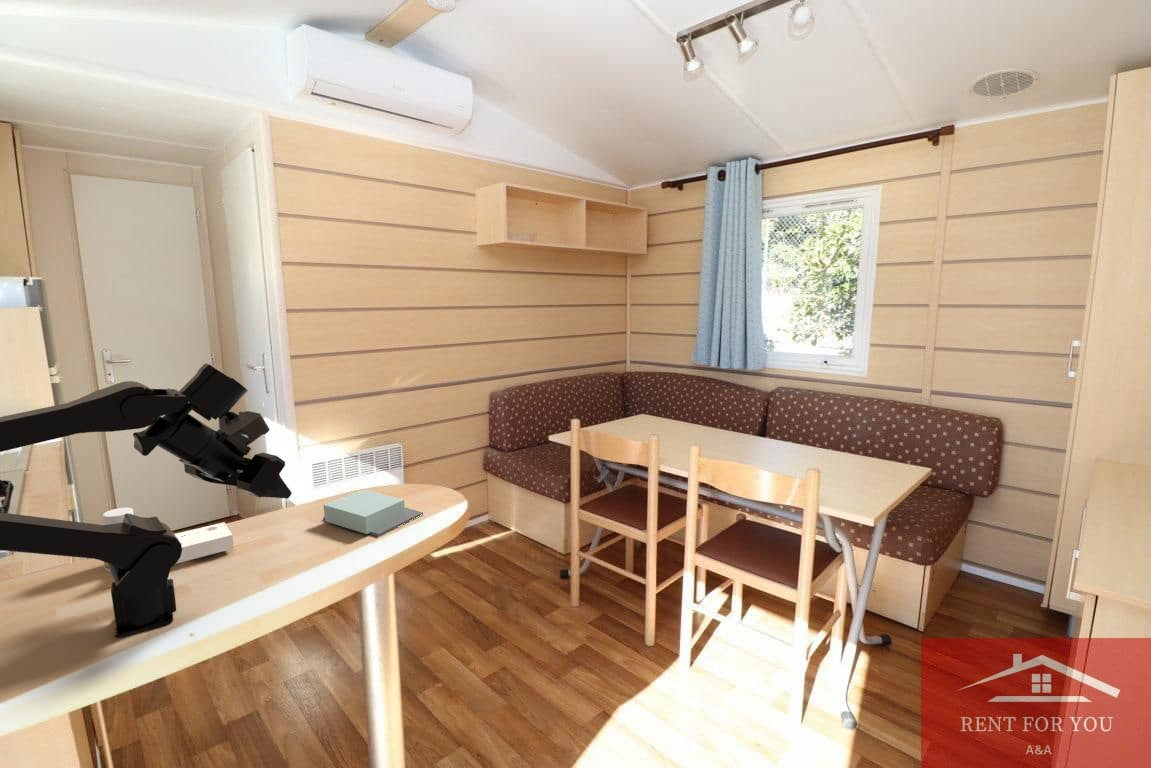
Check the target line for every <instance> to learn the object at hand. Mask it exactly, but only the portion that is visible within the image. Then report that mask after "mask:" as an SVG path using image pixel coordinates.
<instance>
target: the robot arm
mask: <svg viewBox="0 0 1151 768" xmlns="http://www.w3.org/2000/svg"><path fill="white" fill-rule="evenodd" d="M247 392H248V389H247V388H246V387H245V386H244V385H242V384H241V383H240V382H238V381H237V380H236V379H234V378H232V377H231V376H228V375H226V374H224V373H223V372H222V371H220V370H218V369H216V368H215V367H214V366H212V365H211V364H209V363H204V364H203V365H202V366H201V367H200V368H199V369H198V370H197V372H196V374H194V376H193V377H192V378H190V380H189V381H188V382H186V384H184V386H183V387H181V388H180V389H179V390H178V389H174V388H150V387H149V386H148V385H145V384H143V383H141V382H138V381H133V380H128V381H122V382H118V383H115V384H112V385H109V386H107V387H103V388H102V389H97V390H95V391H92V392H91V393H88V394H86V395H84V396H82V397H79V398H77V399H75V400H71V401H69V402H65V403H61V404H57V405H56V404H55V405H51V406H48V407H43V408H42V407H40V408H37V409H32V410H27V411H23V412H17V413H12V414H9V415H4V416H0V453H2V452H6V451H11V450H15V449H19V448H22V447H27V446H31V445H35V444H39V443H44V442H48V441H52V440H55V439H56V440H57V439H60V438H64V437H69V436H72V435H77V434H78V435H79V434H85V433H108V432H109V433H110V432H120V431H121V432H122V431H130V430H138V429H144V428H146V429H144V430H141V431H138V432H137V431H135V432H133V433H132V436H133V438H134V440H133V441H134V442H133V448H134V449H135V450H136V451H138V453H139V454H141V455H142V456H143V457H147V456H149V455H150V453H151V452H152V451H154V449H156V448H157V447H159V448H161V449H162V450H164V451H165V452H167V453H169V454H170V455H173V456H174V457H176V458H178V459H179V460H178V461H179V462H181V463H182V464H184V465H183V466H184V472H185V473H186V474H187V475H189V476H191V477H193V478H194V479H198V480H200V481H204V482H207V483H211V484H219V485H227V486H231V487H232V486H233V487H237V489H239V490H241V492H244V493H246V494H248V495H251V496H253V497H257V498H273V499H274V498H275V499H286V500H287V499H290V497H291V495H292V490H290V488H289V487H288V485H287V483H286V482H285V481H284V480H283V478H282V476H281V475H280V473H281V472H282V470H284V468H285V466H286V461H285V460H284V459H282V458H281V457H279V456H278V455H275V454H271V453H267V452H259V453H256V454H254V455H253V457H251V458H249V457H245V456H248V454H249V453H250V451H251V450H252V447H250V446H249V445H250V444H252V443H253V442H255V441H256V440H257V439H259V438H260V437H261V436H264V435H266V434H268V433H269V432H270V427H269V426H268V424H267V423H266V421H265V419H264V417H263V416H262V415H261V413H260V412H255V411H250V410H248V411H238V414H237V413H235V412H233V411H231V410H232V408H233V407H234V406H235V405H236V404H237V403H238V402H239V401H240V400H241V399H242V398H243V397H244V396H245V394H247ZM191 411H193V412H195V413H196V414H197V415H199V416H201V417H202V418H203V419H205V420H207V421H209V422H210V421H211V420H212V419H214V420H217V419H218V422H219V423H218V424H219V425H218V427H219V429H217V430H214V429H213V428H211V427H209V426H208V425H207V424H205V423H204V422H202V421H201V420H199V419H197V418H196V417H194V416H193V415H192V414H189V413H191ZM174 534H175V533H174V532H173V531H172V529H171V528H170V527H169V525H167V524H166V523H164V522H162V521H161V520H160V519H159V518H158V516H151V517H150V516H149V517H144V516H139V515H136V514H134V515H132V514H128V513H126V514H125V515H124V519H123V523H117V524H110V525H106V524H97V523H87V522H81V521H73V520H63V519H57V518H48V517H41V516H40V517H39V516H31V515H25V514H24V515H23V514H16V513H8V512H7V513H6V512H0V551H2V552H3V551H4V552H5V551H6V552H15V553H25V554H26V553H27V554H37V555H46V556H47V555H48V556H59V557H69V558H72V557H73V558H81V559H82V558H85V559H94V560H98V561H101V562H103V563H104V562H106V563H108V568H109V570H110V572H109V573H110V575H111V577H112V579H113V581H112V583H111V589H110V594H111V603H112V610H113V615H114V622H115V628H114V638H116V639H117V638H121V637H125V636H128V635H132V634H135V633H136V634H137V633H139V632H143V631H147V630H150V629H154V628H157V627H158V628H159V627H161V626H163V625H168V624H171V623H173V622H174V613H175V612H177V601H176V593H175V584H174V579H172V578H169V576H170V573H171V570H172V568H173V567H174V566H175V565H176V563H177V561H178V560H179V558H180V557H181V553H182V546H181V543H180V542H179V540H178V539H177V537H176V536H175V535H174ZM177 564H178V563H177Z"/></svg>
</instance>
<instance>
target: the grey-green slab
mask: <svg viewBox="0 0 1151 768" xmlns="http://www.w3.org/2000/svg"><path fill="white" fill-rule="evenodd" d="M405 508H406V506H405V499H403V498H399V497H395V496H392V495H388V494H383V493H380V492H376V491H371V490H368V489H364V488H363V489H361V490H359V491H356V492H353V493H350V494H348V495H345V496H342V497H340V498H338V499H335V500H333V501H330V502H328V503H325V504H323V513H324V516H323V517H325V520H324V522H326V523H329V524H334V525H336V526H339V527H342V528H345V529H346V528H347V529H348V530H352V531H356V532H359V533H362V534H365V535H368V533H370V532H372V531H374V530H376V529H378V528H380V527H382V526H384V525H386V524H389V523H391V522H393V521H395V520H397V519H399V518H401V517H403V516H405Z"/></svg>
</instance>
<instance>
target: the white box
mask: <svg viewBox="0 0 1151 768" xmlns="http://www.w3.org/2000/svg"><path fill="white" fill-rule="evenodd" d="M224 525H225V526H224ZM220 526H221V527H220ZM215 527H217V528H215ZM212 528H213V529H212ZM207 529H209V530H207ZM204 530H205V531H204ZM197 532H198V533H197ZM189 534H190V535H189ZM174 535H175V536H176V537H178V538H177V539H178V540H179V542H180V543H181V546H182V553H181V557H180V558H179V560H178V561H177V563H176V564H180V563H183V562H187V561H191V560H194V559H200V558H203V557H206V556H210V555H214V554H218V553H220V552H221V553H222V552H225V551H229V550H233V549H234V548H235V546H234V537H233V533H232V532H231V530H230V529H229V527H228V526H227V524H226V522H224V521H223V522H219V523H215V524H212V525H208V526H203V527H198V528H194V529H190V530H186V531H182V532H178V533H174ZM184 535H186V536H184ZM181 536H183V537H181ZM176 564H175V565H176Z"/></svg>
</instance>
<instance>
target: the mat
mask: <svg viewBox="0 0 1151 768" xmlns="http://www.w3.org/2000/svg"><path fill="white" fill-rule="evenodd" d="M421 514H423V515H424V512H423V511H419V510H415V509H412V508H409V507H405V516H403V517H401V518H399V519H397V520H395V521H393V522H391V523H389V524H386V525H384V526H382V527H380V528H378V529H376V530H374V531H372V532H370V533H367V535H371V536H375V537H378V538H379V537H381V536H384V535H386V534H388V533H390V532H392V531H393V530H392V529H394V528H396V527H398V526H400V525H402V524H404V523H406V522H408V521H410V520H412V519H414V518H416V517H418V516H420V515H421ZM420 517H421V516H420ZM418 518H419V517H418ZM322 519H325V517H324V516H323V517H322ZM416 519H417V518H416ZM414 520H415V519H414ZM412 521H413V520H412ZM410 522H411V521H410ZM408 523H409V522H408ZM406 524H407V523H406ZM404 525H405V524H404ZM402 526H403V525H402ZM400 527H401V526H400ZM398 528H399V527H398ZM396 529H397V528H396ZM391 530H392V531H391ZM394 530H395V529H394ZM389 531H390V532H389ZM387 532H388V533H387ZM385 533H386V534H385Z"/></svg>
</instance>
